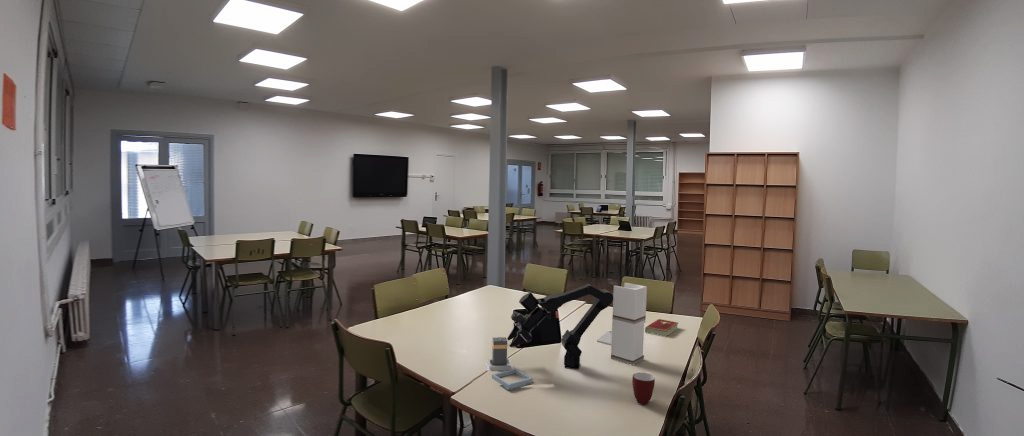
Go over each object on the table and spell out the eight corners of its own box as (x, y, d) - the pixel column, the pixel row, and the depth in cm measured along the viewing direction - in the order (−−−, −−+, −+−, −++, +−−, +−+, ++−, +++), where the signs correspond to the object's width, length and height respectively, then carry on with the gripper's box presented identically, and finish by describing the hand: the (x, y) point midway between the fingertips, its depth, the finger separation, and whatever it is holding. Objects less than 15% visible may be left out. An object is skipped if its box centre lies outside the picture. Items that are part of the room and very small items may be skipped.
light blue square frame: (515, 374, 203) (515, 368, 203) (532, 384, 193) (532, 378, 193) (491, 380, 196) (491, 374, 196) (508, 390, 186) (508, 384, 186)
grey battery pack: (505, 363, 212) (506, 334, 211) (506, 367, 207) (507, 337, 206) (491, 363, 211) (492, 334, 210) (492, 368, 206) (493, 338, 205)
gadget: (621, 349, 239) (622, 342, 239) (596, 342, 249) (596, 335, 249) (642, 339, 256) (642, 332, 256) (617, 333, 266) (618, 326, 266)
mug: (635, 393, 187) (636, 368, 186) (656, 398, 183) (657, 372, 182) (629, 404, 177) (630, 378, 177) (651, 409, 174) (652, 382, 173)
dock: (511, 363, 215) (511, 358, 215) (514, 372, 205) (514, 366, 205) (484, 364, 213) (485, 358, 213) (486, 372, 203) (486, 367, 203)
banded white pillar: (643, 359, 224) (647, 286, 222) (632, 365, 216) (635, 289, 214) (622, 353, 232) (625, 282, 230) (610, 358, 224) (613, 285, 222)
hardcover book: (644, 333, 266) (645, 326, 266) (657, 325, 283) (658, 318, 283) (666, 338, 259) (666, 330, 259) (678, 329, 276) (678, 322, 276)
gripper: (519, 300, 218) (494, 324, 217) (525, 311, 199) (498, 337, 199) (535, 317, 219) (511, 340, 219) (543, 329, 201) (516, 355, 200)
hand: (509, 343), depth 209 cm, fingers open, 9 cm apart
